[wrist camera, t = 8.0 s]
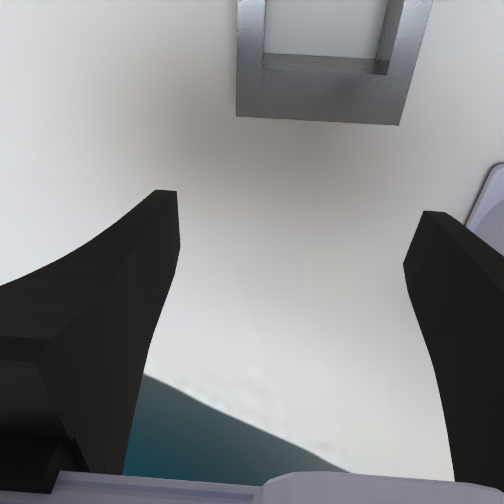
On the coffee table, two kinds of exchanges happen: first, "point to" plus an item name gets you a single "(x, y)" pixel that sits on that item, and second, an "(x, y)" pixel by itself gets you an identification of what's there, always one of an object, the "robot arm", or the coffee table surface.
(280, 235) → the coffee table surface
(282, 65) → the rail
